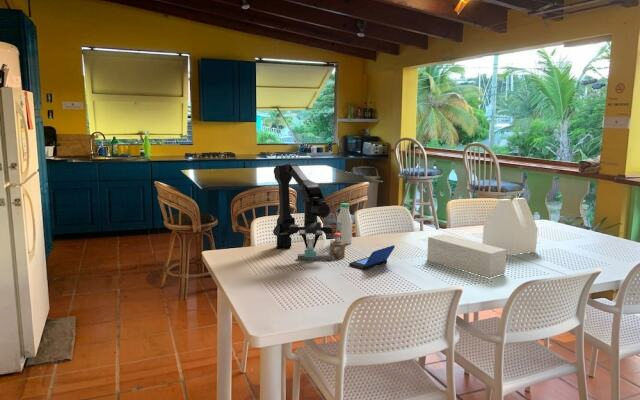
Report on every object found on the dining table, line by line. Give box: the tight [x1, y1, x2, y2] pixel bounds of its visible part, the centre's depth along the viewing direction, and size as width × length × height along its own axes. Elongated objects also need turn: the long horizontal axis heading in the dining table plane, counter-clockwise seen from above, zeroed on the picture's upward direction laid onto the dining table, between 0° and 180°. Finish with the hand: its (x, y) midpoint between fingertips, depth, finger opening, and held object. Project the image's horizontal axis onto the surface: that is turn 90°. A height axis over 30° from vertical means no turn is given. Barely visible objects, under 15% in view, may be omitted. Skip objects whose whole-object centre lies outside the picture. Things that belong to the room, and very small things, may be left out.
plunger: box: [333, 232, 341, 243], centre depth 226 cm, size 3×3×5 cm
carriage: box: [304, 237, 317, 257], centre depth 219 cm, size 5×5×8 cm
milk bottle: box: [335, 202, 353, 245], centre depth 249 cm, size 8×8×20 cm
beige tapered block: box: [482, 197, 539, 256], centre depth 241 cm, size 19×15×25 cm
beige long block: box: [426, 233, 507, 279], centre depth 212 cm, size 32×11×11 cm, turn 37°
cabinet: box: [329, 239, 346, 259], centre depth 227 cm, size 6×8×6 cm
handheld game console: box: [349, 245, 395, 271], centre depth 212 cm, size 16×13×9 cm
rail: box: [297, 253, 335, 261], centre depth 220 cm, size 16×3×2 cm, turn 92°
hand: (310, 248), depth 219 cm, fingers closed on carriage, 3 cm apart
